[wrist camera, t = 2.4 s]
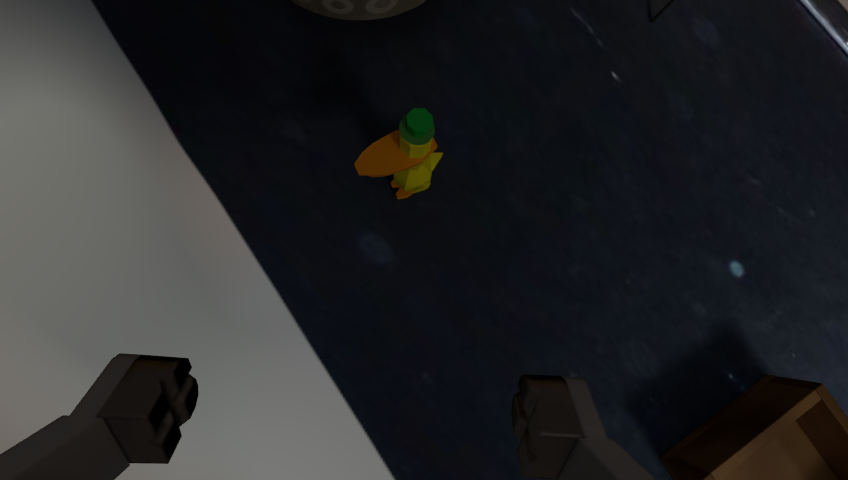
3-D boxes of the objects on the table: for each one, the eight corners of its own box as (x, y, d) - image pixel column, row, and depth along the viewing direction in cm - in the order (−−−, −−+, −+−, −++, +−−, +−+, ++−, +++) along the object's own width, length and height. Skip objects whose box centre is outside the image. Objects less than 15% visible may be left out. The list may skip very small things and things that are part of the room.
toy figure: (374, 222, 36) (363, 175, 24) (357, 184, 36) (337, 120, 24) (447, 189, 36) (471, 128, 25) (429, 153, 37) (444, 76, 25)
